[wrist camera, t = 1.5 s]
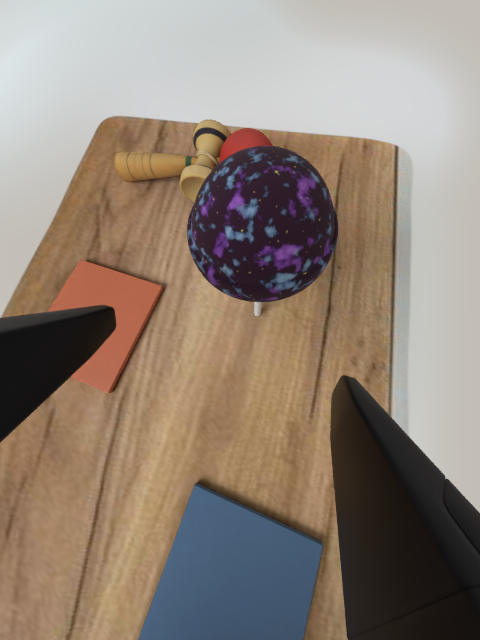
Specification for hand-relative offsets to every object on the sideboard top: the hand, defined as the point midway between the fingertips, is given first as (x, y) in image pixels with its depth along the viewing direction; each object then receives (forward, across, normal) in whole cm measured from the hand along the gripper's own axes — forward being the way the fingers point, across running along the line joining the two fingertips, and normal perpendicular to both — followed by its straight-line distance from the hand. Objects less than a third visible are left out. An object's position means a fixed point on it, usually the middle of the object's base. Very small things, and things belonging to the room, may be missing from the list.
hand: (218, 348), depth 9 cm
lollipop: (+13, 0, +5) cm, 14 cm away
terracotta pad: (+9, +15, +8) cm, 20 cm away
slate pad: (-2, -4, +20) cm, 20 cm away
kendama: (+23, +11, -5) cm, 26 cm away
